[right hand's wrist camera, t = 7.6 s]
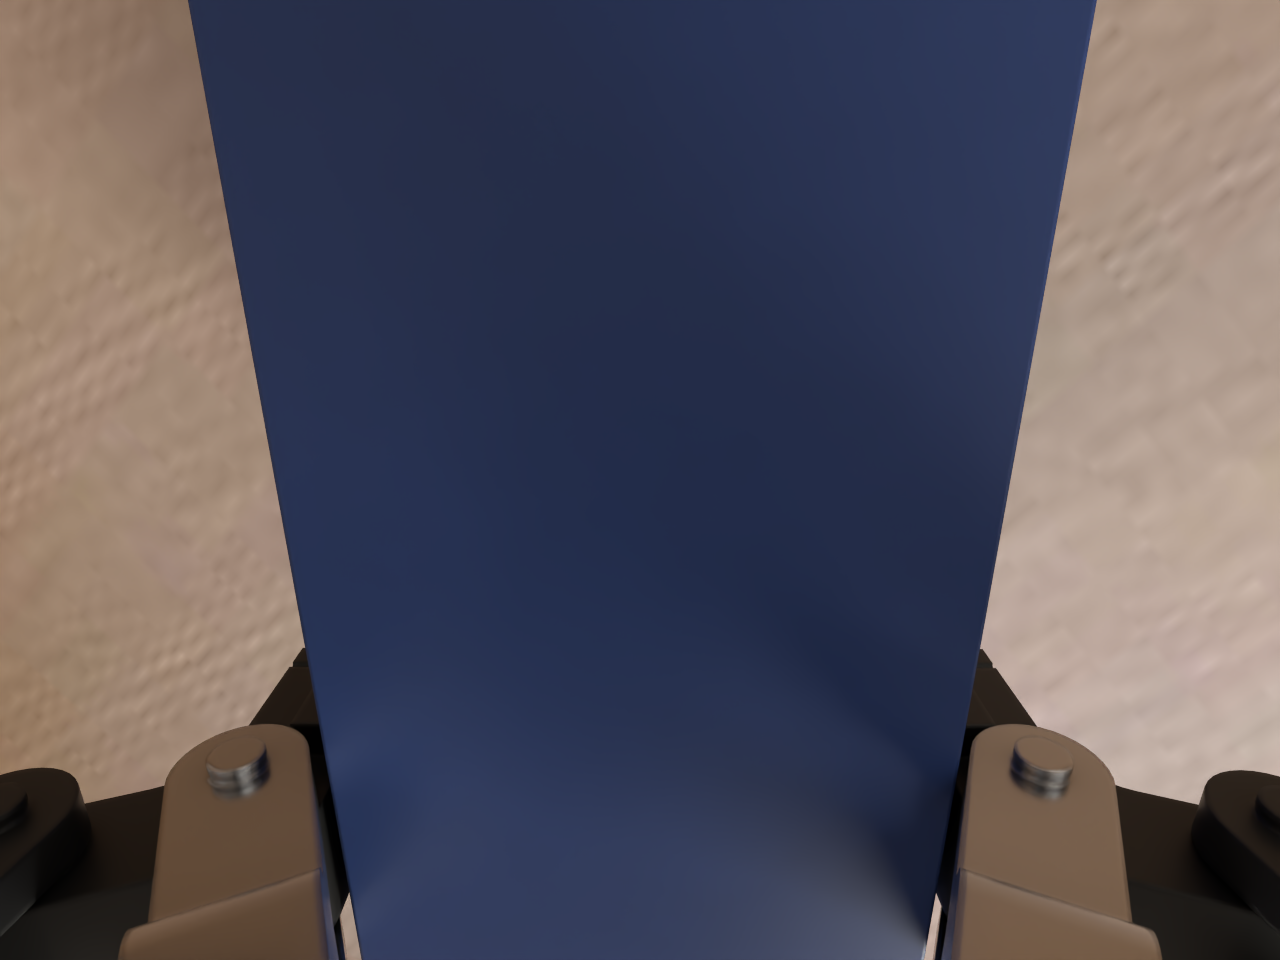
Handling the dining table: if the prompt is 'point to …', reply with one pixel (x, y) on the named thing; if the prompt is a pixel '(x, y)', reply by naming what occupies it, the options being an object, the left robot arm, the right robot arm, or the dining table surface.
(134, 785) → the dining table surface
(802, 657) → the box
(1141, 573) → the dining table surface
